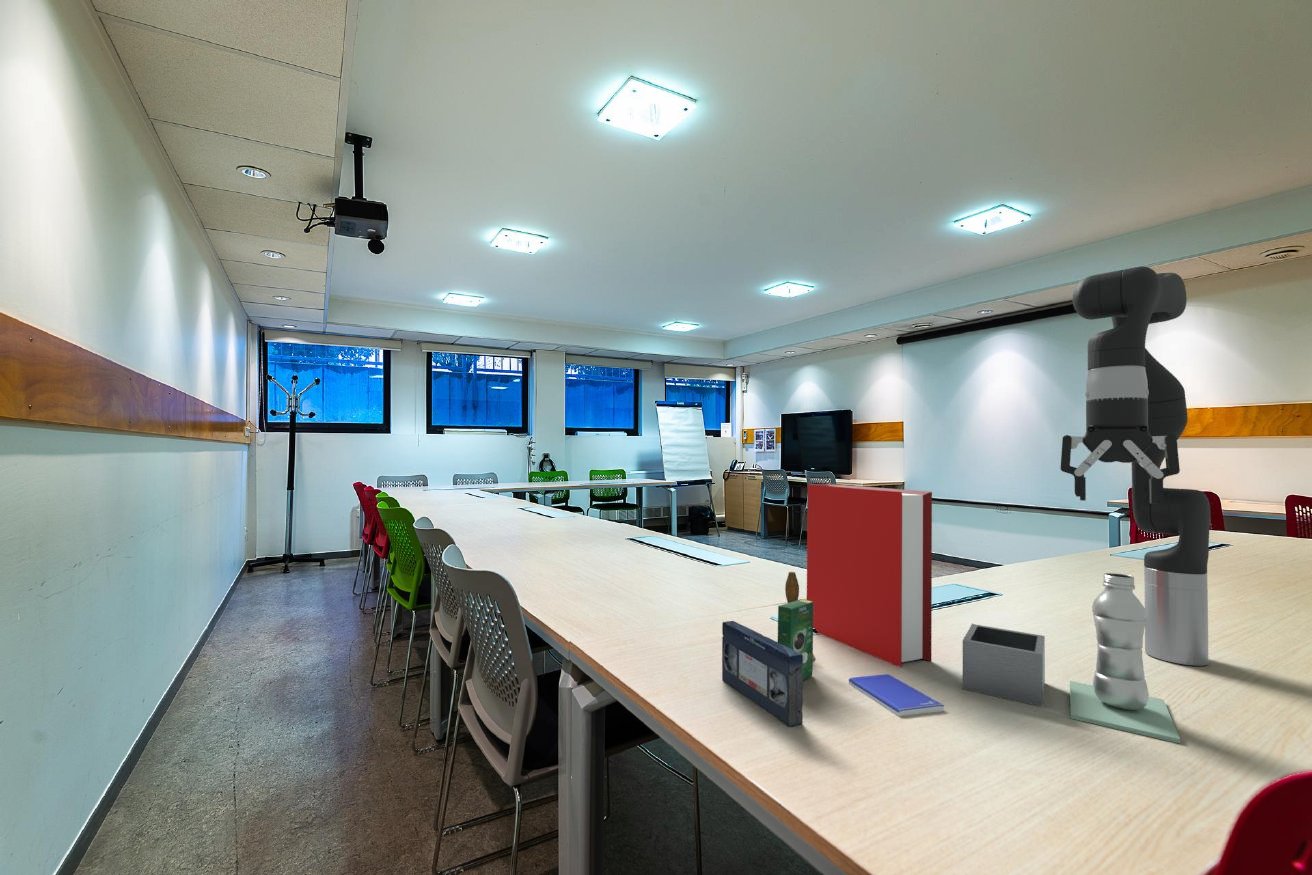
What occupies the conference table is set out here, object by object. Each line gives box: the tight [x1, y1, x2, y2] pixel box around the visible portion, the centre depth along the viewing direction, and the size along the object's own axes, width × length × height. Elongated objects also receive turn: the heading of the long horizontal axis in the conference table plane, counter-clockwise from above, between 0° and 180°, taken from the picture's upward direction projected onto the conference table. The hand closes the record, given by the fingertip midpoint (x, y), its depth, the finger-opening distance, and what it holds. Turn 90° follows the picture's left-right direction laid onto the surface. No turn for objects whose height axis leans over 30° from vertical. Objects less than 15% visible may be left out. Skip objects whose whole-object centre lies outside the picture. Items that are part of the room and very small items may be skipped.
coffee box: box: [777, 598, 814, 681], centre depth 97 cm, size 8×3×13 cm, turn 137°
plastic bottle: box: [1091, 572, 1150, 710], centre depth 87 cm, size 6×7×20 cm
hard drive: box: [848, 673, 945, 717], centre depth 91 cm, size 2×8×12 cm
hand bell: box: [784, 571, 816, 661], centre depth 109 cm, size 8×8×16 cm
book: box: [806, 483, 933, 668], centre depth 118 cm, size 27×8×32 cm, turn 25°
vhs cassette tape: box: [721, 620, 804, 728], centre depth 88 cm, size 18×3×10 cm, turn 23°
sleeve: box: [962, 623, 1046, 708], centre depth 96 cm, size 12×11×8 cm
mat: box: [1069, 680, 1181, 744], centre depth 87 cm, size 16×12×1 cm
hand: (1116, 501), depth 88 cm, fingers open, 8 cm apart
